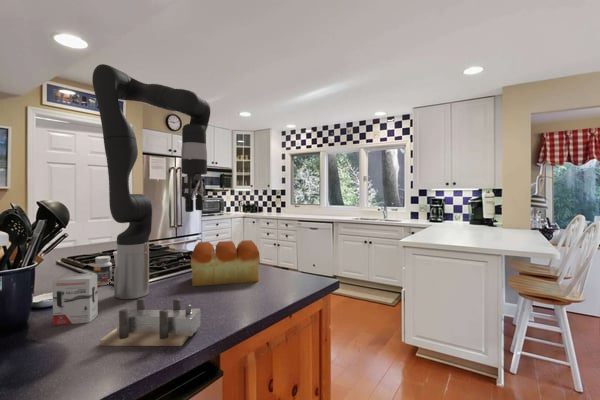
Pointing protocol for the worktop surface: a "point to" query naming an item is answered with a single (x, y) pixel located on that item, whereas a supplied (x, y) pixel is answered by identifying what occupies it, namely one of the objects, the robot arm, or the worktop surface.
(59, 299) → the ink box
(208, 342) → the worktop surface
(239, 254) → the bread
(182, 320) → the grey pegged bar
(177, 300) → the rack
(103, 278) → the pill bottle
